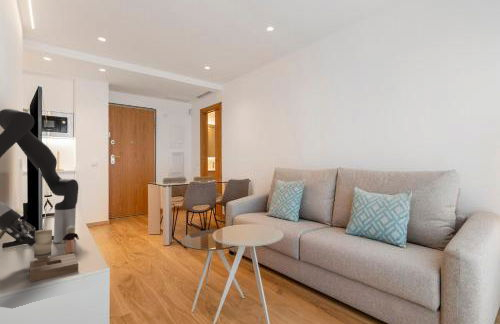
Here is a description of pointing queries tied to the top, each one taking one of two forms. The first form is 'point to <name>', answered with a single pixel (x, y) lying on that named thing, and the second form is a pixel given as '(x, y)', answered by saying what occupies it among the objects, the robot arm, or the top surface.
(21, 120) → the robot arm
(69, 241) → the grandmother figurine
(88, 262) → the top surface
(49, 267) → the walnut board
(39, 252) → the beech peg
